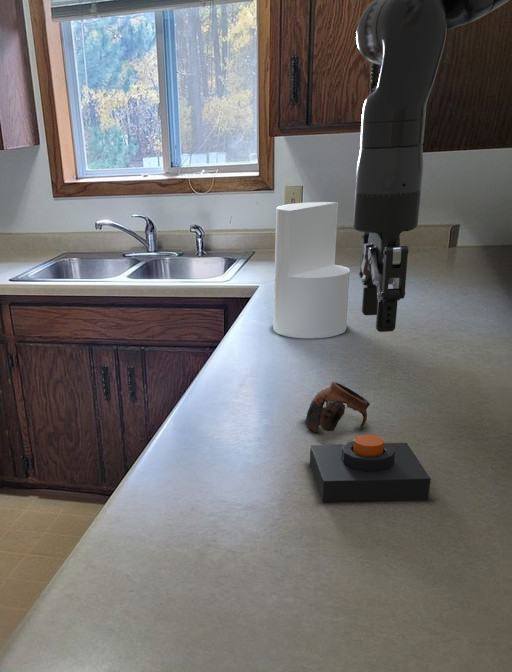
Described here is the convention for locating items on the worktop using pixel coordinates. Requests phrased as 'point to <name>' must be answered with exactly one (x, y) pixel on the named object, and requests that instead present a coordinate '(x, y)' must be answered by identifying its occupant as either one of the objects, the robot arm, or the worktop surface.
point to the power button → (368, 445)
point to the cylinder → (309, 272)
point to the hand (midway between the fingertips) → (377, 322)
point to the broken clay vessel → (334, 407)
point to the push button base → (368, 474)
